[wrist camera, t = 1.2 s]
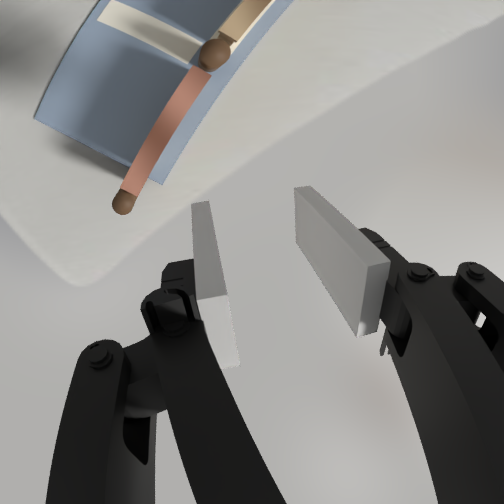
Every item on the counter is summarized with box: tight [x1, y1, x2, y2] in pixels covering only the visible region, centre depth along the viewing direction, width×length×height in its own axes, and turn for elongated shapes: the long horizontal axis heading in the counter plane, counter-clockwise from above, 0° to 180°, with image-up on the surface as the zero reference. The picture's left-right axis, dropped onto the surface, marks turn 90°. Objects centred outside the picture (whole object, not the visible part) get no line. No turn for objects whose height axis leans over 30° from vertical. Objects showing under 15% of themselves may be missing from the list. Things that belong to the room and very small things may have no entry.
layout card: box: [34, 0, 294, 185], centre depth 22 cm, size 24×15×1 cm, turn 145°
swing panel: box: [112, 65, 212, 215], centre depth 23 cm, size 12×2×7 cm, turn 145°
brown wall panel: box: [198, 0, 272, 72], centre depth 19 cm, size 14×2×8 cm, turn 145°
